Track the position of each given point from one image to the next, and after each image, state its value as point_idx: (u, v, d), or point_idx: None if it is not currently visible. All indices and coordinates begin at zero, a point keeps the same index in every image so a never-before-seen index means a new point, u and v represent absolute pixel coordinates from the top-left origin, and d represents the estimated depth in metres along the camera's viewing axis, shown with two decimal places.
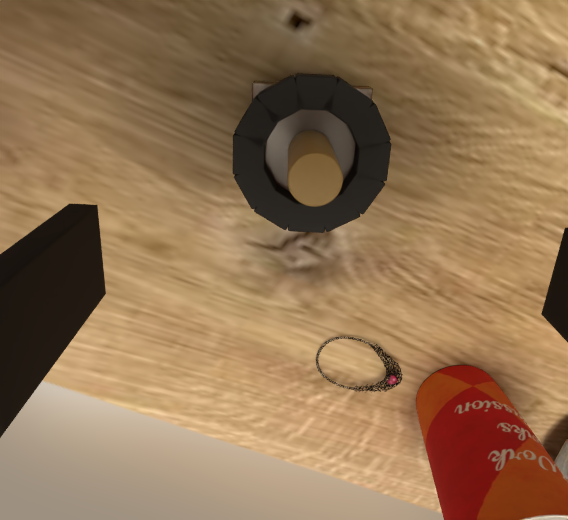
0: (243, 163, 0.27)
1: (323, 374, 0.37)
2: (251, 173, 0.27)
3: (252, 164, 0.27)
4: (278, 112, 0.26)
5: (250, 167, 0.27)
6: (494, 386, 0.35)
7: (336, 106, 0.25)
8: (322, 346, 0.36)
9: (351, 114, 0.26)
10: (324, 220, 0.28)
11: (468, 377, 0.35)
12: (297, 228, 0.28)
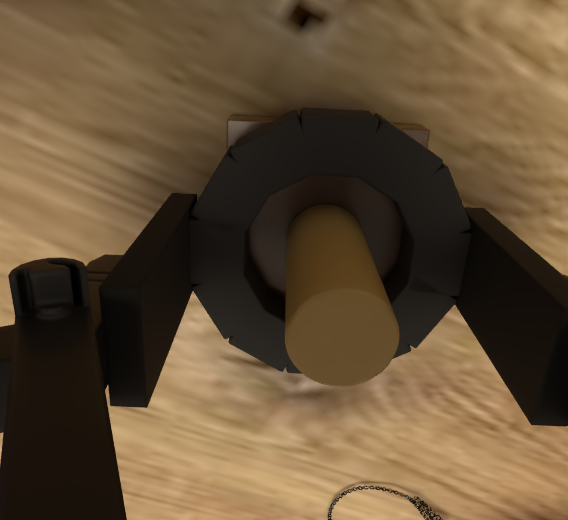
0: (207, 266, 0.15)
1: None
2: (222, 282, 0.15)
3: (223, 268, 0.15)
4: (269, 180, 0.14)
5: (220, 273, 0.15)
6: None
7: (375, 171, 0.14)
8: (337, 498, 0.24)
9: (402, 184, 0.14)
10: None
11: None
12: None
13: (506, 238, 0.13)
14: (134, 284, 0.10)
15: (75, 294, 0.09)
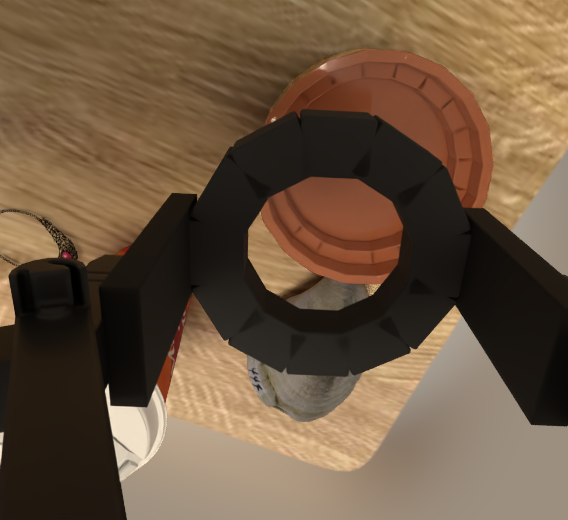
0: (207, 267, 0.15)
1: None
2: (222, 284, 0.15)
3: (223, 269, 0.15)
4: (269, 182, 0.14)
5: (220, 274, 0.15)
6: None
7: (375, 172, 0.14)
8: None
9: (402, 186, 0.14)
10: (349, 359, 0.16)
11: None
12: (302, 370, 0.16)
13: (506, 238, 0.13)
14: (134, 284, 0.10)
15: (76, 294, 0.09)
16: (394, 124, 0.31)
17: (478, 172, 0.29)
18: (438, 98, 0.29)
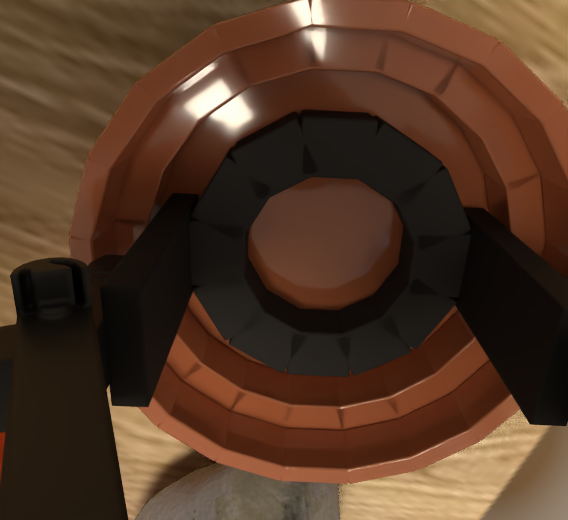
0: (208, 268, 0.15)
1: None
2: (222, 284, 0.15)
3: (223, 269, 0.15)
4: (269, 182, 0.14)
5: (220, 274, 0.15)
6: None
7: (375, 173, 0.14)
8: None
9: (402, 186, 0.14)
10: (349, 359, 0.16)
11: None
12: (302, 370, 0.16)
13: (505, 237, 0.13)
14: (136, 284, 0.10)
15: (77, 294, 0.09)
16: None
17: None
18: (478, 114, 0.13)
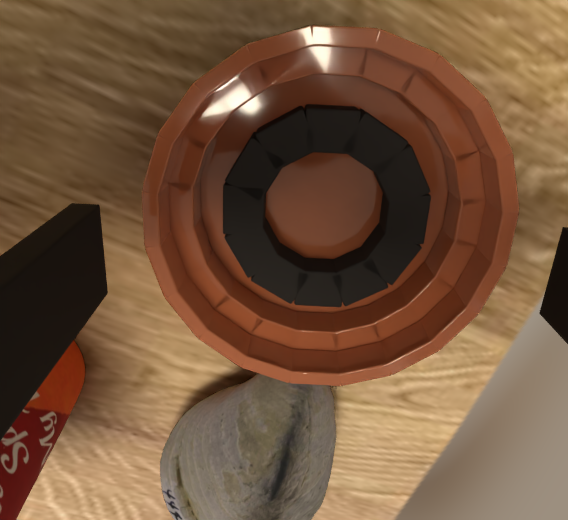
0: (236, 220, 0.20)
1: None
2: (247, 233, 0.20)
3: (248, 222, 0.20)
4: (282, 156, 0.19)
5: (245, 225, 0.20)
6: None
7: (359, 149, 0.19)
8: None
9: (379, 159, 0.19)
10: (341, 292, 0.21)
11: None
12: (306, 302, 0.22)
13: None
14: None
15: None
16: None
17: (495, 223, 0.19)
18: (432, 106, 0.18)
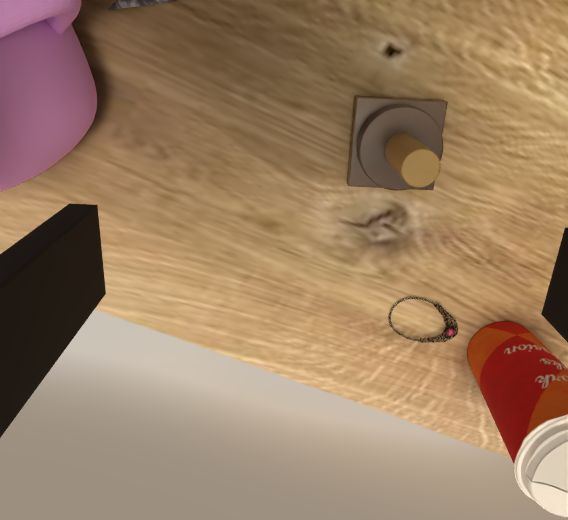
0: None
1: (394, 328, 0.46)
2: None
3: None
4: None
5: None
6: (533, 336, 0.44)
7: None
8: (394, 305, 0.45)
9: None
10: None
11: (512, 329, 0.44)
12: None
13: None
14: None
15: None
16: None
17: None
18: None
